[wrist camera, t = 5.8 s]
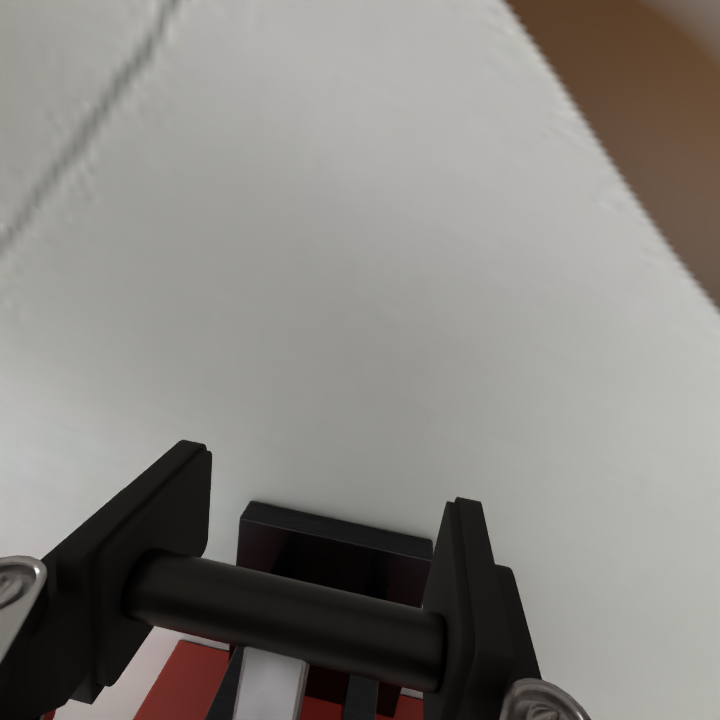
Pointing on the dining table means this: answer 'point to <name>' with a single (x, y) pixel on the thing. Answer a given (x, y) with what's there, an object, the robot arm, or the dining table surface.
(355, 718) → the bracket
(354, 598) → the lever
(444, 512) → the robot arm
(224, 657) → the toaster
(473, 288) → the dining table surface
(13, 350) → the dining table surface
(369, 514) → the dining table surface
